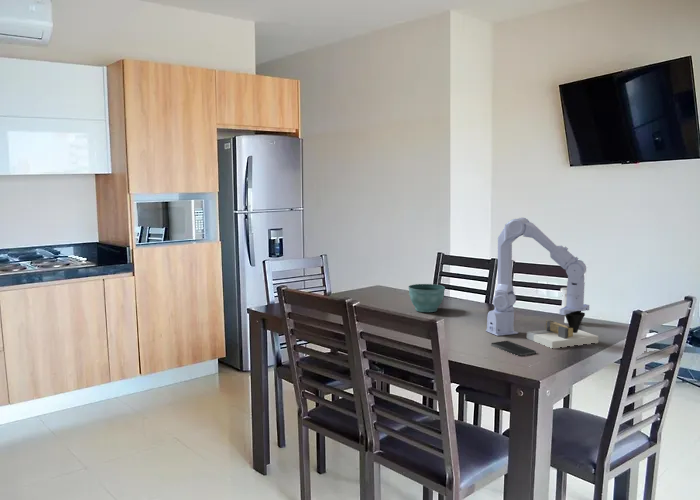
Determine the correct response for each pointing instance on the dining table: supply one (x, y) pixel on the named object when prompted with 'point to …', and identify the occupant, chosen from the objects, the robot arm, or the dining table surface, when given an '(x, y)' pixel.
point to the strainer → (564, 300)
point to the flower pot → (426, 296)
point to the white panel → (561, 338)
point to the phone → (513, 348)
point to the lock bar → (554, 327)
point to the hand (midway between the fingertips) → (573, 332)
